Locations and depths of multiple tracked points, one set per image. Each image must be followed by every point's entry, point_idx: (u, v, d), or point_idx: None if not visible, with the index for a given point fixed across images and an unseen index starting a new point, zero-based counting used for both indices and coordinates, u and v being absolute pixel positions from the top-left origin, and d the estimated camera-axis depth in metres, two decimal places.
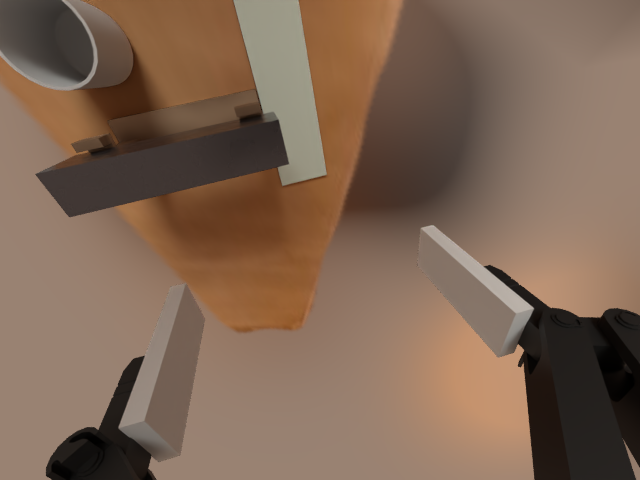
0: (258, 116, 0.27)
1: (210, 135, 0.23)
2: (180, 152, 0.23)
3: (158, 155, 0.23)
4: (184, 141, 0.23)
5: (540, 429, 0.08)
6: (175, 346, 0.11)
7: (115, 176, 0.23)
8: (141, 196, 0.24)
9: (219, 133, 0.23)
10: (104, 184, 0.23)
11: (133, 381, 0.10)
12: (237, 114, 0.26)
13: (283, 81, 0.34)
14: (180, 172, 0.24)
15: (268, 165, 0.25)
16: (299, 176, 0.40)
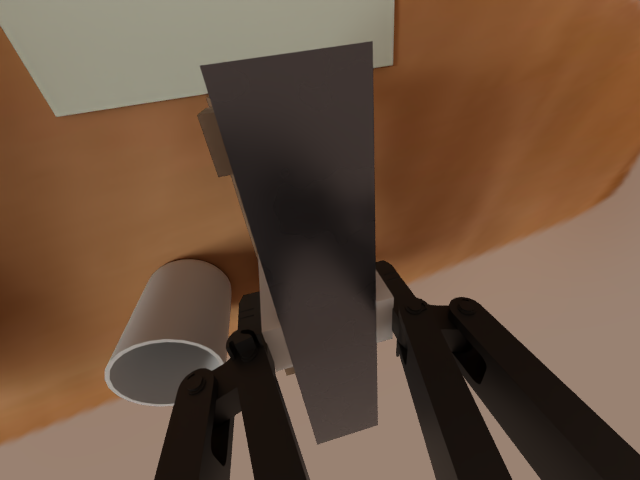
0: None
1: (265, 272, 0.09)
2: (302, 322, 0.11)
3: (304, 351, 0.12)
4: (279, 316, 0.10)
5: (424, 418, 0.09)
6: None
7: (332, 392, 0.14)
8: (371, 370, 0.14)
9: (260, 254, 0.09)
10: (342, 401, 0.15)
11: (251, 309, 0.12)
12: (231, 171, 0.11)
13: (181, 27, 0.16)
14: (342, 324, 0.11)
15: (361, 129, 0.07)
16: (383, 14, 0.17)
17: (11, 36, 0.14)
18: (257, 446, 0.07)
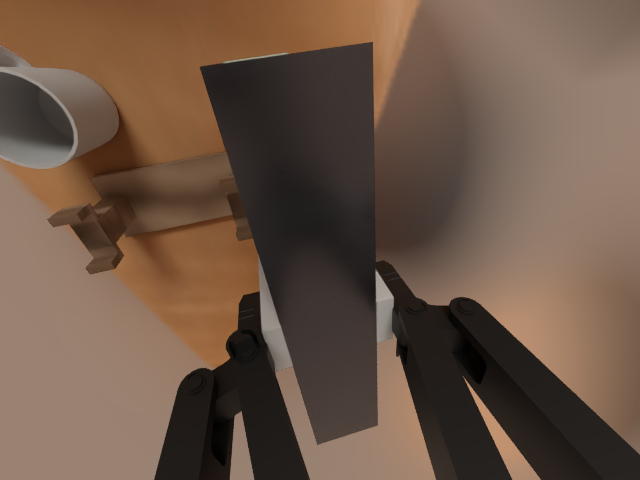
0: None
1: (265, 272, 0.09)
2: (302, 323, 0.11)
3: (304, 351, 0.12)
4: (279, 316, 0.10)
5: (424, 418, 0.09)
6: None
7: (332, 393, 0.14)
8: (371, 370, 0.14)
9: (260, 254, 0.09)
10: (342, 401, 0.15)
11: (251, 309, 0.12)
12: (222, 190, 0.26)
13: None
14: (342, 325, 0.11)
15: (361, 130, 0.07)
16: None
17: None
18: (257, 446, 0.07)
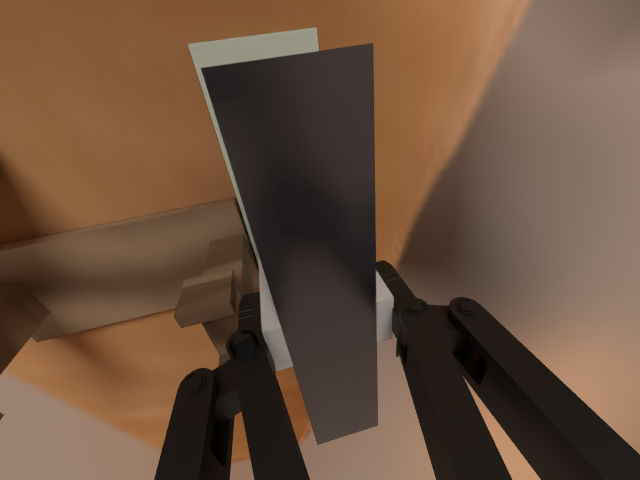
0: None
1: (266, 273, 0.09)
2: (303, 323, 0.11)
3: (304, 351, 0.12)
4: (279, 317, 0.10)
5: (424, 418, 0.09)
6: None
7: (332, 393, 0.14)
8: (371, 370, 0.14)
9: (261, 255, 0.09)
10: (343, 401, 0.15)
11: (251, 309, 0.12)
12: (182, 323, 0.12)
13: None
14: (342, 325, 0.11)
15: (362, 131, 0.07)
16: None
17: (262, 38, 0.15)
18: (257, 446, 0.07)
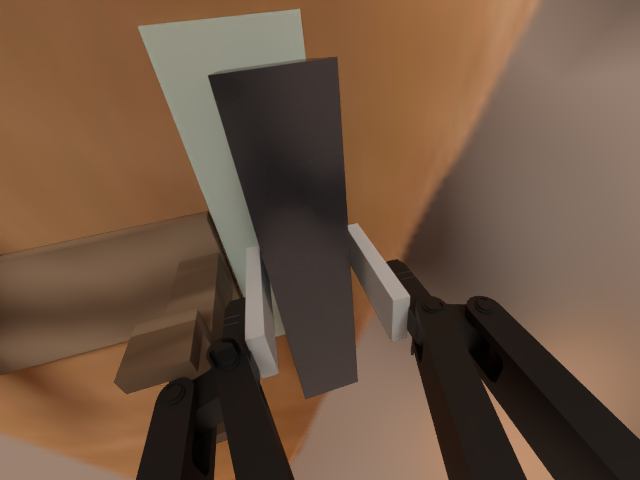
0: None
1: (258, 239, 0.11)
2: (289, 284, 0.13)
3: (291, 309, 0.14)
4: (270, 278, 0.13)
5: (438, 416, 0.09)
6: (264, 291, 0.13)
7: (317, 349, 0.16)
8: (349, 328, 0.16)
9: (254, 224, 0.11)
10: (326, 357, 0.17)
11: (236, 315, 0.12)
12: (127, 389, 0.09)
13: None
14: (322, 286, 0.14)
15: (332, 123, 0.10)
16: None
17: (233, 21, 0.12)
18: (241, 457, 0.07)
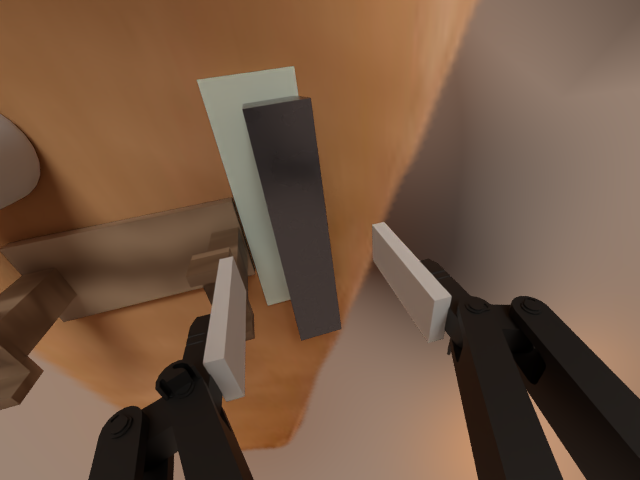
0: None
1: (267, 205, 0.18)
2: (287, 238, 0.20)
3: (289, 258, 0.21)
4: (274, 233, 0.19)
5: (472, 416, 0.09)
6: (233, 306, 0.13)
7: (308, 294, 0.23)
8: (331, 278, 0.23)
9: (264, 194, 0.18)
10: (315, 303, 0.24)
11: (201, 334, 0.12)
12: (191, 283, 0.16)
13: None
14: (309, 241, 0.20)
15: (309, 133, 0.17)
16: None
17: (253, 74, 0.20)
18: None
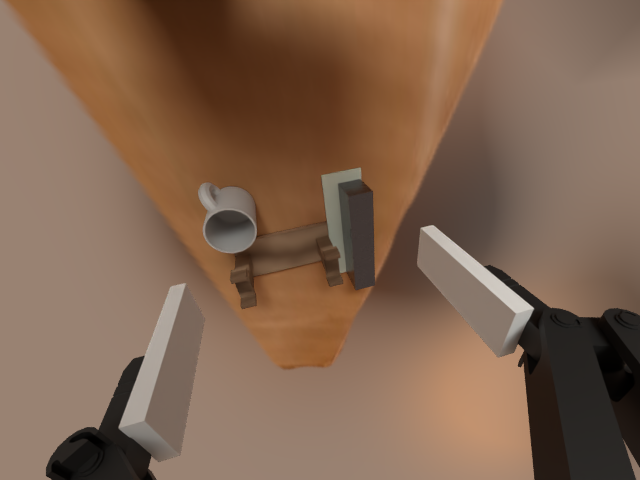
0: (340, 194, 0.46)
1: (351, 229, 0.45)
2: (356, 242, 0.46)
3: (356, 250, 0.47)
4: (352, 240, 0.46)
5: (540, 429, 0.08)
6: (175, 346, 0.11)
7: (361, 267, 0.50)
8: (372, 260, 0.49)
9: (350, 225, 0.44)
10: (364, 271, 0.50)
11: (133, 381, 0.10)
12: (326, 259, 0.43)
13: None
14: (365, 243, 0.47)
15: (371, 202, 0.43)
16: None
17: (343, 172, 0.46)
18: None
